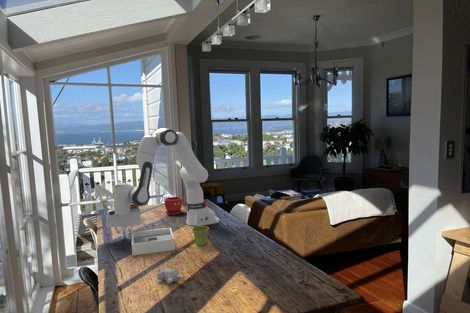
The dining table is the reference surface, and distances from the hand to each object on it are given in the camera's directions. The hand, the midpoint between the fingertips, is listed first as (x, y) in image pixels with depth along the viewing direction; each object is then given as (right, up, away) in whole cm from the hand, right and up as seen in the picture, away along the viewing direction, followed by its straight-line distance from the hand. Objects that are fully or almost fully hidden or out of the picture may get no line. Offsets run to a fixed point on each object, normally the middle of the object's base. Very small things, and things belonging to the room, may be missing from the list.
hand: (124, 232), depth 212 cm
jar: (-8, 0, +43) cm, 43 cm away
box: (+21, -4, -15) cm, 26 cm away
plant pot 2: (+48, -3, -15) cm, 50 cm away
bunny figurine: (+39, -8, -60) cm, 72 cm away
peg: (0, -4, 0) cm, 4 cm away
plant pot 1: (+20, +2, +55) cm, 59 cm away
